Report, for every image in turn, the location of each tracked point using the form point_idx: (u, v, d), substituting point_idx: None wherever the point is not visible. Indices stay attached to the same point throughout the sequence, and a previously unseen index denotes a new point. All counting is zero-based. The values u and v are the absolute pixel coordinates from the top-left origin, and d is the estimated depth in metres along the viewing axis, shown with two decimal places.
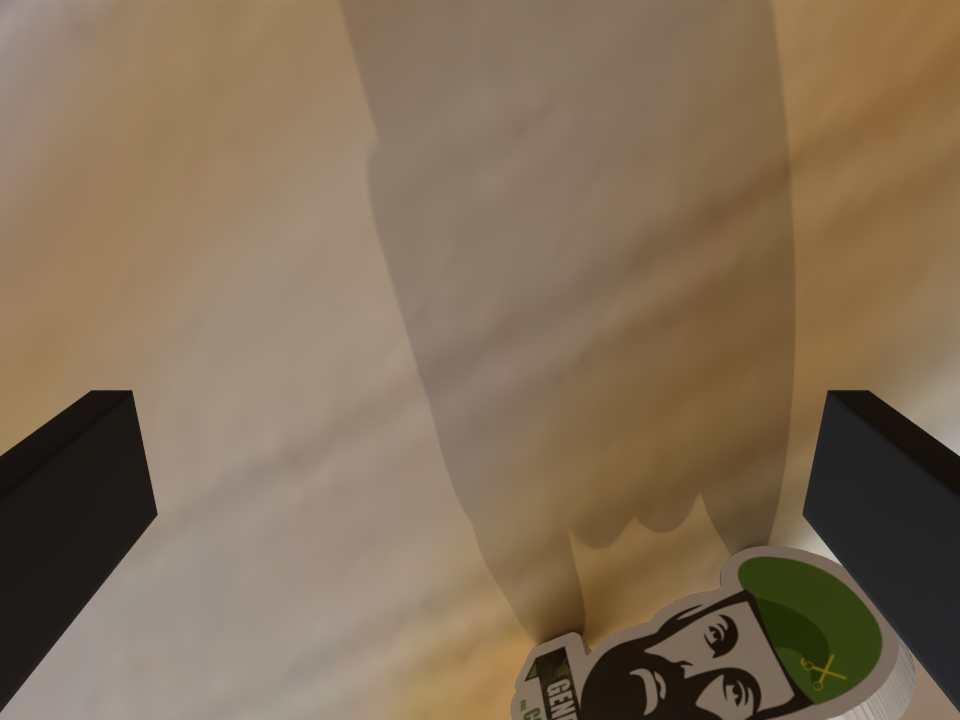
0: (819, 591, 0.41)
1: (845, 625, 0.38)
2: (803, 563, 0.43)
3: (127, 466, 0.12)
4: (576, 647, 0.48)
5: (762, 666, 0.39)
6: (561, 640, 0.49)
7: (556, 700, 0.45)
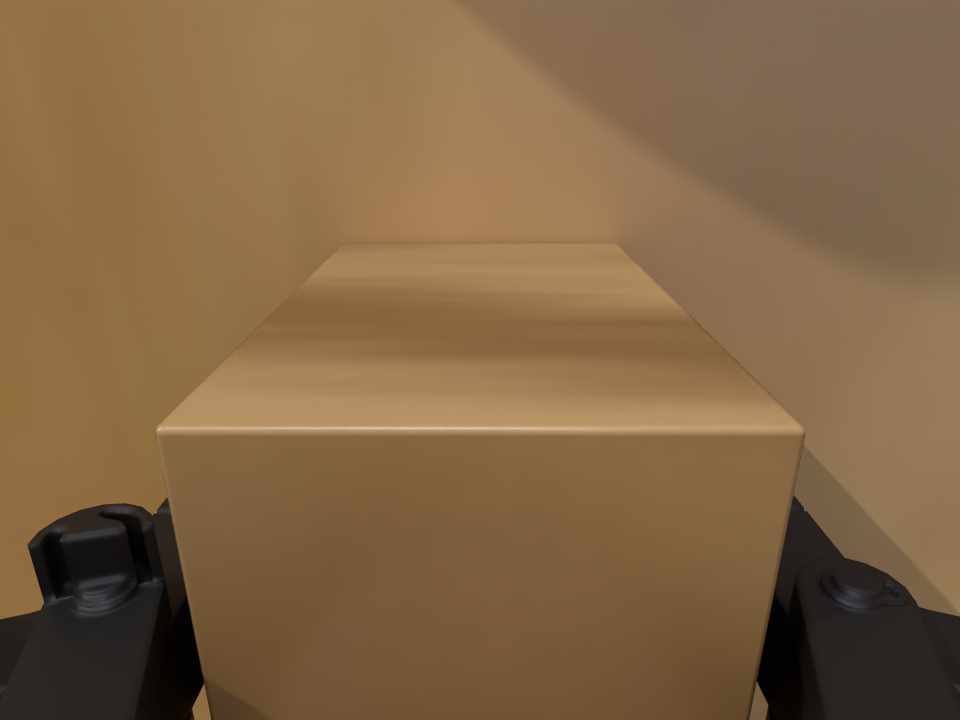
0: None
1: None
2: None
3: None
4: None
5: None
6: None
7: None
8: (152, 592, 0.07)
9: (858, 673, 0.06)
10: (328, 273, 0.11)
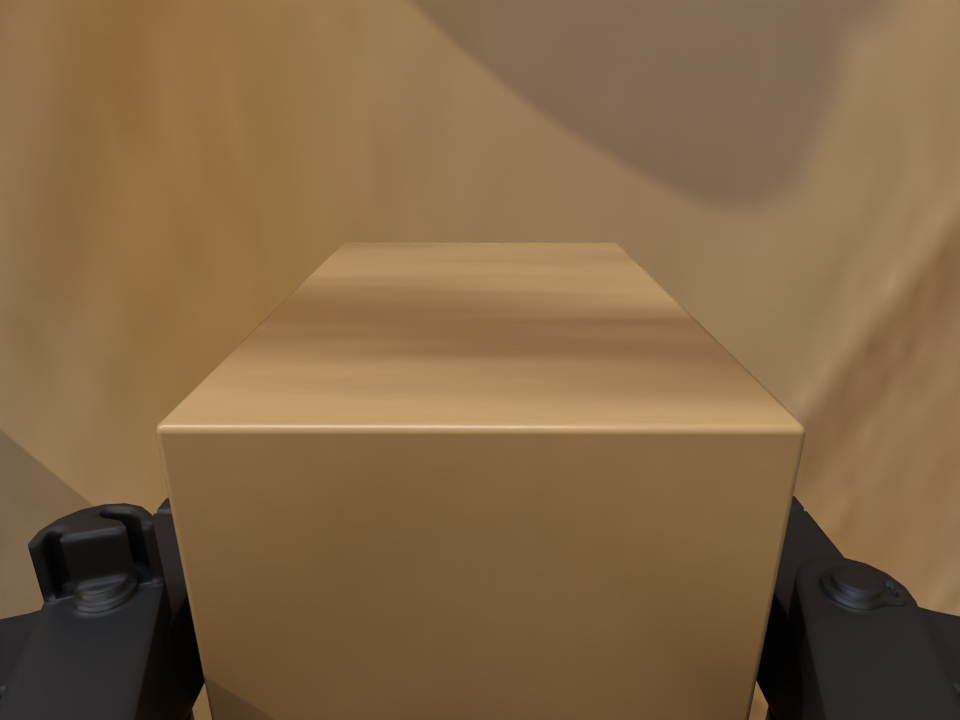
0: None
1: None
2: None
3: None
4: None
5: None
6: None
7: None
8: (152, 592, 0.07)
9: (858, 673, 0.06)
10: (328, 272, 0.11)
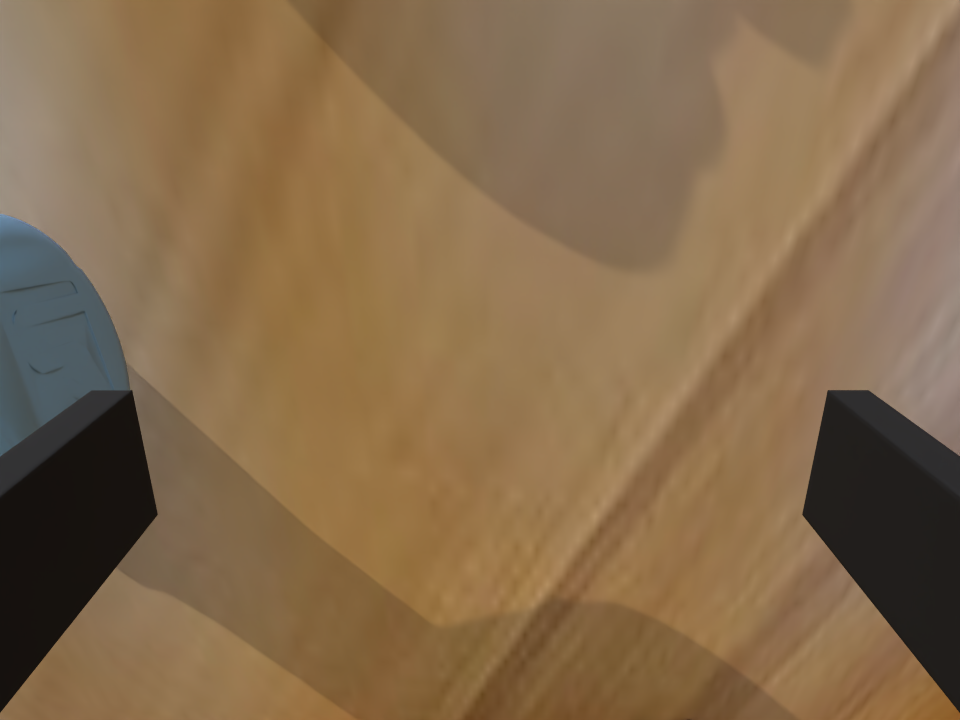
0: None
1: None
2: None
3: (127, 466, 0.12)
4: None
5: None
6: None
7: None
8: None
9: None
10: None
